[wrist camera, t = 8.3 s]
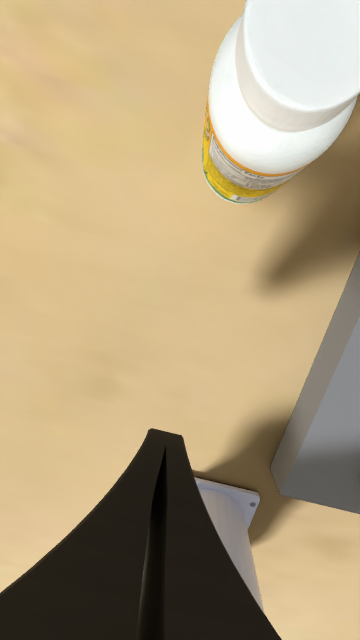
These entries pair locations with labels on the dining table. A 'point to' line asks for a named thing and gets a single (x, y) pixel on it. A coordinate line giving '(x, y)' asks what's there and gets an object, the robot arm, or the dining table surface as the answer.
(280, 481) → the panel
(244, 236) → the dining table surface
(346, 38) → the supplement bottle
